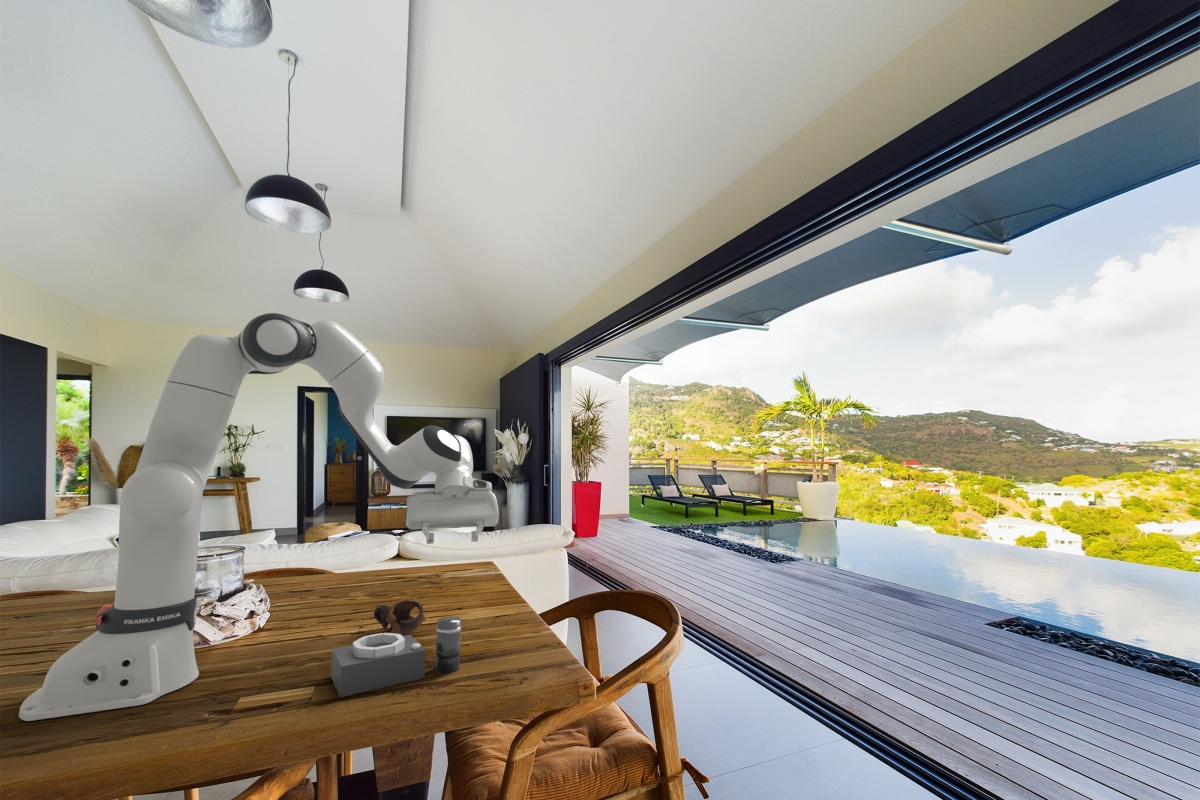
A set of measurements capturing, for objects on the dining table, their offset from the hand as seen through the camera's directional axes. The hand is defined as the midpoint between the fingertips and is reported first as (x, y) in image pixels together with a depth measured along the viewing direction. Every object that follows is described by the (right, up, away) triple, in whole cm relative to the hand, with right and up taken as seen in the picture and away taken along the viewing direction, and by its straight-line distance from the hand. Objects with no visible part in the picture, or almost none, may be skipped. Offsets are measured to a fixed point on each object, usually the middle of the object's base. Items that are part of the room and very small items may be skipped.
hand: (452, 541), depth 116 cm
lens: (+3, -21, -14) cm, 25 cm away
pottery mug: (-14, -23, +6) cm, 28 cm away
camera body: (-9, -20, -19) cm, 29 cm away
